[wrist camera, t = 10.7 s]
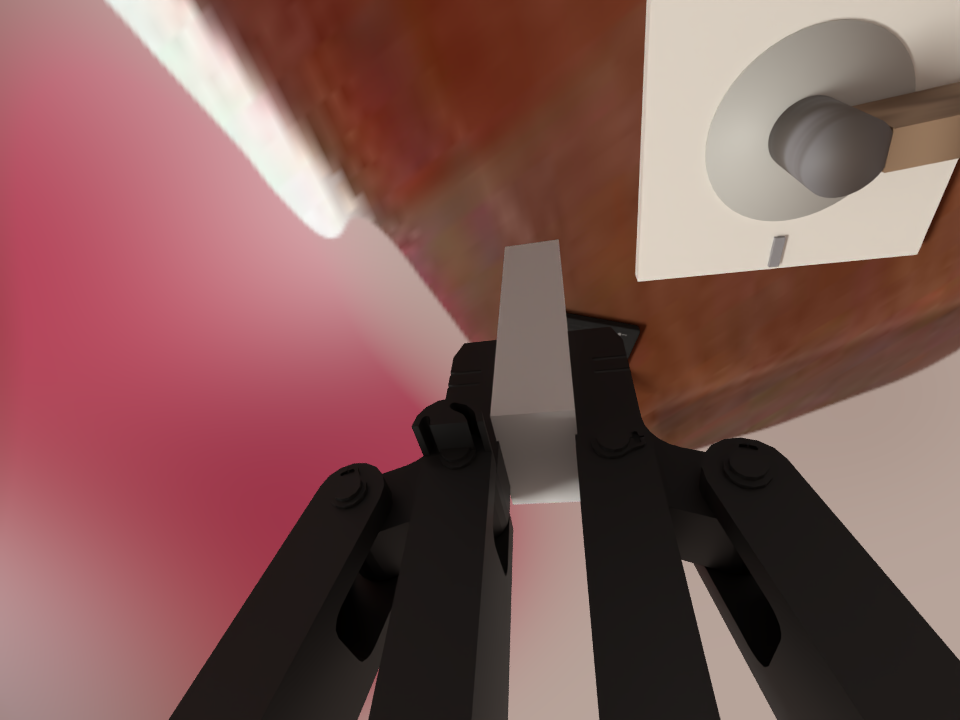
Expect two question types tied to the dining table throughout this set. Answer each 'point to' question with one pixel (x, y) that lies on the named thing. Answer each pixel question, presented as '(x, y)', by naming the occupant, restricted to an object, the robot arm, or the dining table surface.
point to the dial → (865, 138)
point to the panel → (749, 120)
